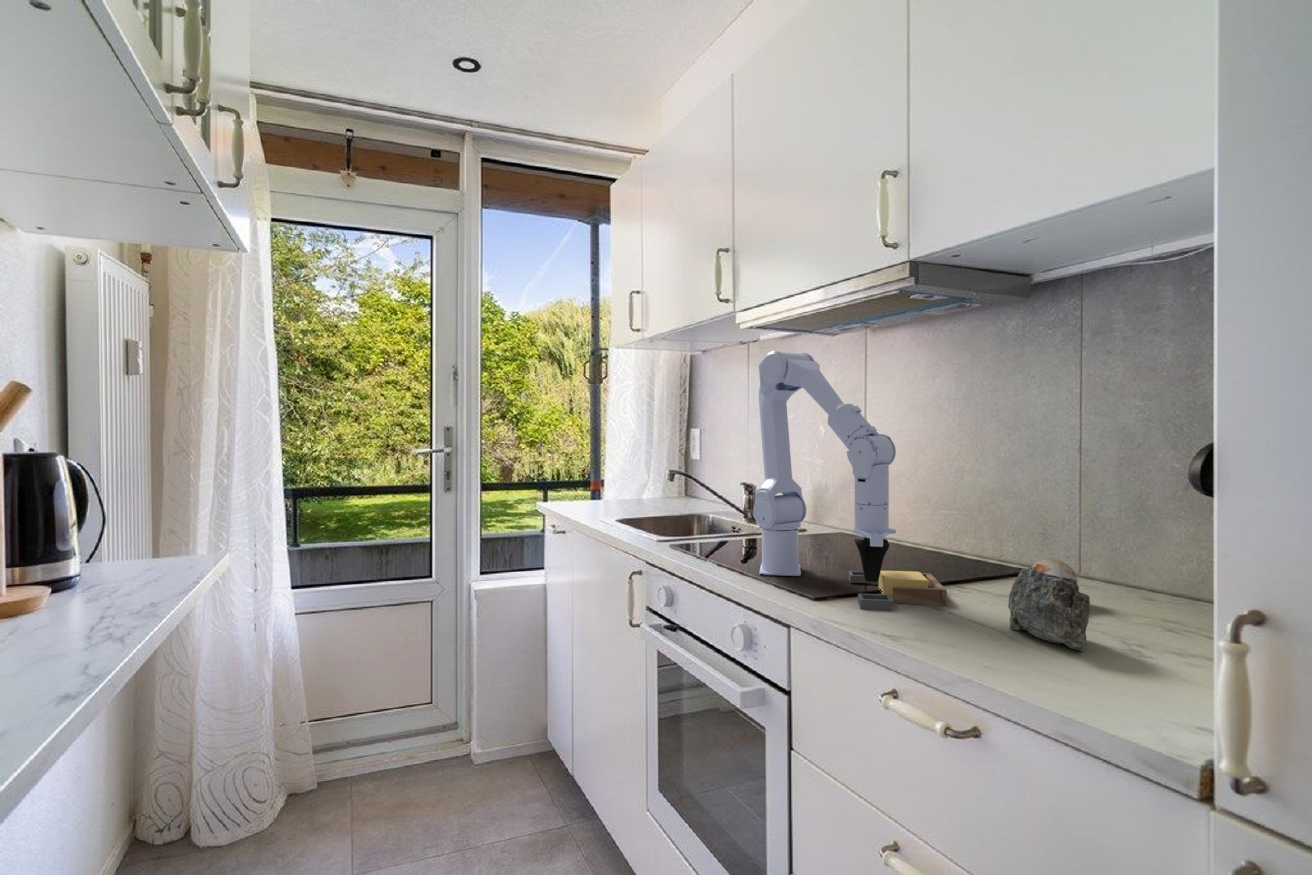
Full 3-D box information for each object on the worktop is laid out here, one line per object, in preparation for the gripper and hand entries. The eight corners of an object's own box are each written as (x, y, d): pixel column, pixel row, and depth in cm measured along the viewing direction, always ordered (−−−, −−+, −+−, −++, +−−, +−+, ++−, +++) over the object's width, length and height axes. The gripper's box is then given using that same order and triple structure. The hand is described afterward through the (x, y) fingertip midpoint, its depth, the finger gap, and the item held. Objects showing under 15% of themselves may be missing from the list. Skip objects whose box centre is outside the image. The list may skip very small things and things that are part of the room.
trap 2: (858, 602, 115) (857, 593, 115) (889, 603, 114) (889, 594, 114) (860, 608, 111) (860, 599, 111) (893, 610, 110) (893, 600, 110)
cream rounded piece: (1030, 613, 109) (1017, 553, 114) (1041, 627, 116) (1028, 570, 120) (1085, 607, 105) (1068, 545, 110) (1092, 622, 112) (1076, 563, 117)
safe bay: (882, 585, 127) (883, 571, 127) (930, 586, 125) (930, 573, 125) (893, 603, 114) (893, 588, 114) (946, 605, 113) (946, 590, 113)
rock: (973, 630, 99) (973, 561, 99) (1019, 621, 103) (1019, 555, 103) (1069, 660, 86) (1070, 581, 86) (1117, 649, 91) (1117, 573, 90)
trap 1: (848, 578, 132) (848, 570, 132) (875, 579, 131) (875, 571, 131) (850, 583, 128) (850, 575, 128) (878, 584, 128) (878, 576, 128)
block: (878, 589, 125) (878, 570, 125) (919, 591, 124) (919, 571, 124) (885, 599, 118) (885, 579, 118) (928, 600, 117) (928, 580, 117)
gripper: (902, 508, 113) (902, 591, 113) (889, 499, 127) (889, 572, 127) (857, 508, 114) (857, 589, 114) (849, 498, 128) (849, 571, 129)
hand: (871, 580), depth 121 cm, fingers closed
